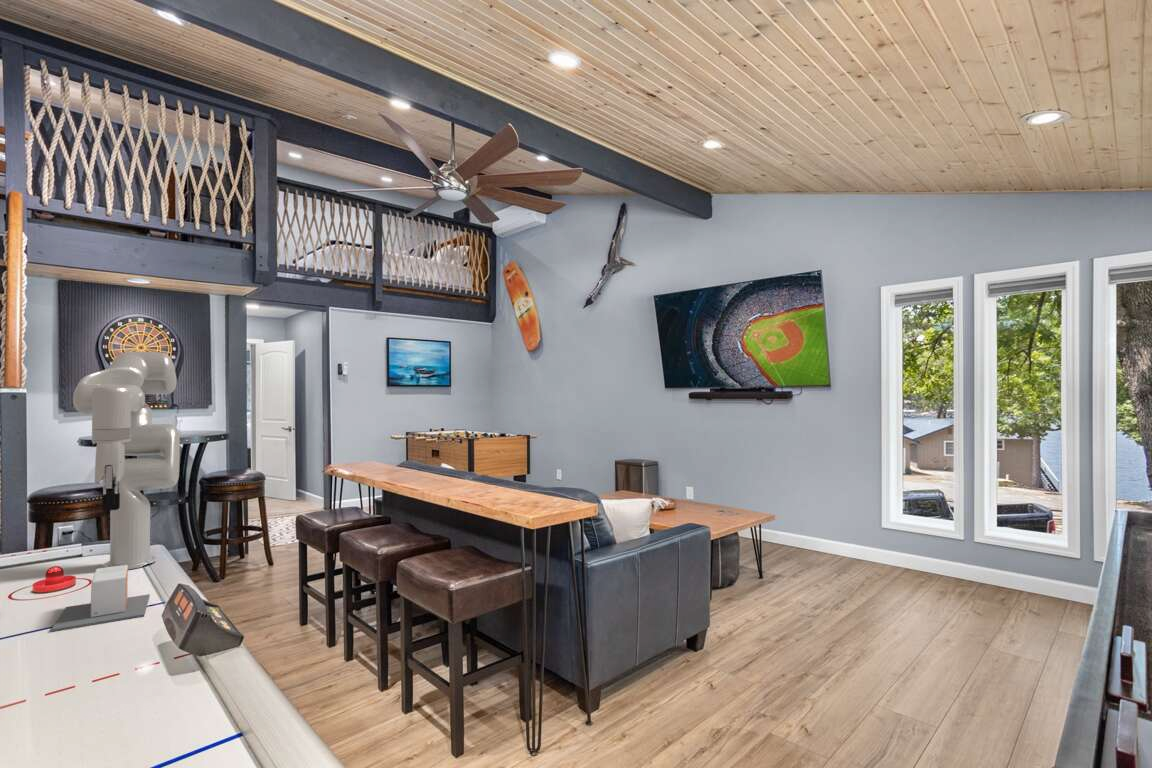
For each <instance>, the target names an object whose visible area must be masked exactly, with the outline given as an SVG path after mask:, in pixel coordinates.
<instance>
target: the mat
mask: <svg viewBox="0 0 1152 768" xmlns="http://www.w3.org/2000/svg"><path fill="white" fill-rule="evenodd" d="M150 596H151V595H150V594H142V595H135V596H131V597H127V603H126V610H125V612H119V613H113V614H107V615H101V616H96V617H91V602H89V603H82V604H78V605H77V604H75V605H71V606H70V605H69V606H66V607H64V609H63V611H62V613H61V614H60V615H59V617H58V619H57V620H56V621H55V624H54V625H53V626H52V628H51V630H50V632H51V633H54V632H59V631H65V630H71V629H76V628H84V627H89V626H95V625H99V624H101V625H102V624H106V623H112V622H119V621H125V620H130V619H136V618H142V617H145V615H146V610H147V607H148V604H149V600H150Z"/></svg>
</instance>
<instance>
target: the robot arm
mask: <svg viewBox="0 0 1152 768" xmlns="http://www.w3.org/2000/svg"><path fill="white" fill-rule="evenodd" d="M177 383H178V382H177V374H176V368H175V364H174V362H173V360H172V358H171V357H170V356H169V355H168V354H167V353H165V352H156V351H155V352H153V351H125V352H121V353H119V354H117V355H116V356H115V357H114V359H113V360H112V362H111V364H110V366H109V368H106V369H102V370H100V371H97V372H96V371H95V372H92V373H90V374H88V375H87V374H86V375H85V376H83V377H82V378H81V379H80V380H79V382H78V384H77V385H76V387H75V390H74V391H73V396H72V404H73V407H74V408H75V410H76V411H77V412H79V413H81V414H84V415H91V443H93V444H96V449H95V450H96V451H95V462H94V465H95V467H94V483H95V484H96V485H98V484H100V483H101V482H102V489H103V490H102V491H103V492H102V511H103V512H106V511H107V512H108V511H110V512H109V513H110V518H109V519H110V520H109V523H110V525H109V532H110V533H109V539H110V540H109V561H106V562H104V563H103V565H102V568H106V567H114V566H122V565H128V570H134V569H140V568H144V567H145V566H144V564H145V563H147V562H146V561H147V560H149V559H150V556H152V557H151V558H152V559H151V561H152V560H154V559H156V560H157V557H156V556H154V555H151V503H150V501H149V499H148V498H147V497H146V496H145V495H144V494H143V493H141V491H145V490H146V491H147V490H159V489H162V490H163V489H170V488H173V487H175V486H177V484H178V481H179V478H180V453H181V451H180V450H181V445H180V444H181V440H180V439H181V438H180V432H179V429H178V428H177V426H175V425H173V424H169V423H155V424H153V423H152V421H153V420H152V418H153V417H152V415H153V410H152V408H151V407H150V406H149V405H148V404H147V403H146V395H171V394H172V393H173V392H175V390H176V388H177ZM155 455H156V456H157V455H158V456H161V457H140V458H126V457H125V456H129V457H130V456H136V457H137V456H155ZM143 566H144V567H143Z"/></svg>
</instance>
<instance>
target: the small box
mask: <svg viewBox="0 0 1152 768" xmlns="http://www.w3.org/2000/svg"><path fill="white" fill-rule="evenodd" d="M94 571H95V572H94V574H93V578H92V581H91V585H90V586H91V590H90V591H91V592H90V603H91V617H96V616H101V615H107V614H113V613H119V612H125V610H126V603H127V598H128V595H129V594H128V584H129V583H128V581H129V580H128V579H129V575H128V573H129V569H128V565H122V566H114V567H106V568H103V567H99V568H96V569H95V570H94Z"/></svg>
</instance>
